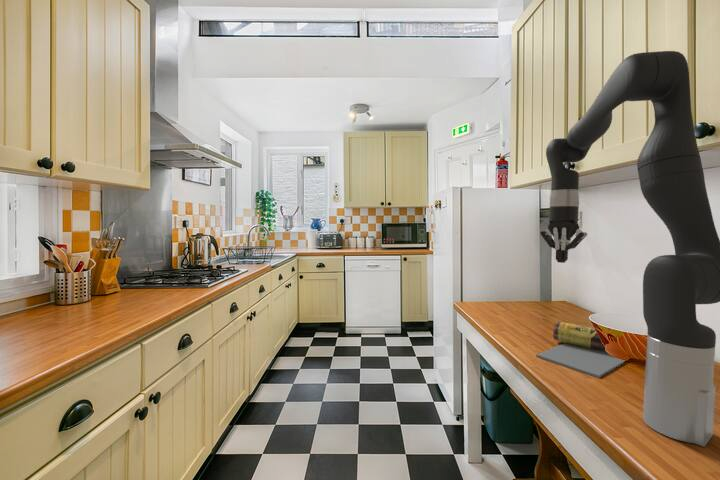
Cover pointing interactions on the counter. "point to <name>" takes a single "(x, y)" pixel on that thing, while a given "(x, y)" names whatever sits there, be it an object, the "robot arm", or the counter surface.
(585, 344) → the sauce bottle
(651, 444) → the counter surface
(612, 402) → the counter surface
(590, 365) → the mat
